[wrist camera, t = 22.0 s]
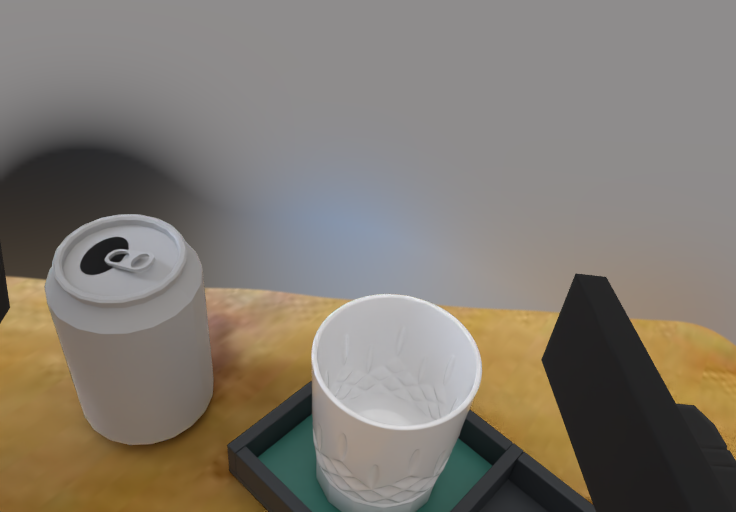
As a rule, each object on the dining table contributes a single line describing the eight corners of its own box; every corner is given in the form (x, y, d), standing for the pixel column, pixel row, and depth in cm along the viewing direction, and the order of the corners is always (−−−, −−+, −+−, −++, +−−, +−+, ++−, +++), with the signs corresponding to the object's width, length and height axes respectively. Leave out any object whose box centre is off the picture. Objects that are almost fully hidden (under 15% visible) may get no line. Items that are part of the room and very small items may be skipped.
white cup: (381, 386, 43) (401, 271, 37) (475, 479, 39) (517, 368, 33) (276, 457, 39) (276, 341, 32) (369, 568, 35) (391, 463, 28)
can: (133, 333, 45) (101, 186, 37) (237, 372, 44) (228, 228, 36) (56, 425, 40) (-1, 277, 32) (171, 473, 39) (142, 330, 31)
